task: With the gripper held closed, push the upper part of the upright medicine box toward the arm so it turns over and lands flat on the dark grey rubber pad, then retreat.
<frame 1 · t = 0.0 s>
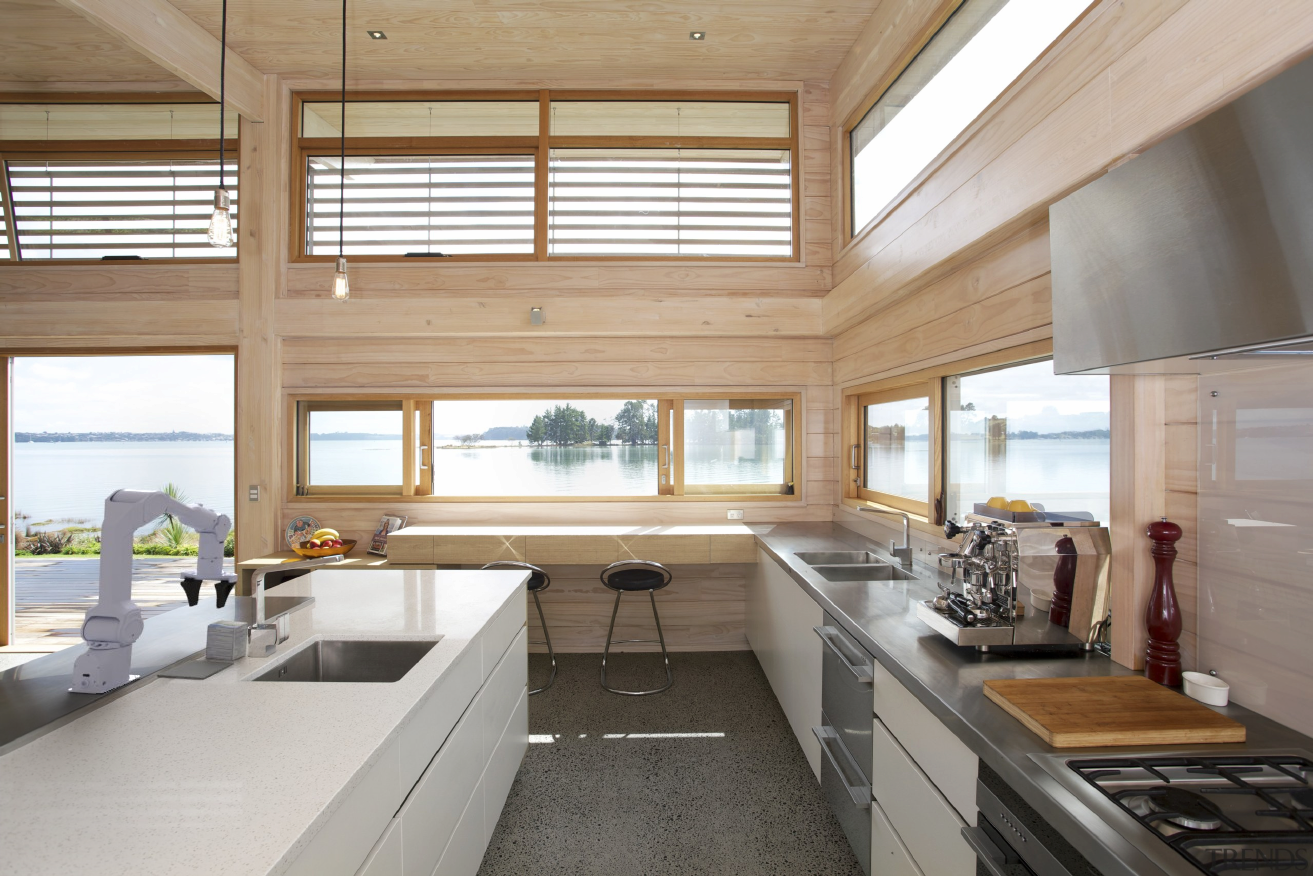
hand: (206, 606, 162), 10 cm above the worktop, fingers open, 7 cm apart
medicine box: (225, 657, 154), on the worktop
grey rubber pad: (197, 670, 144), on the worktop
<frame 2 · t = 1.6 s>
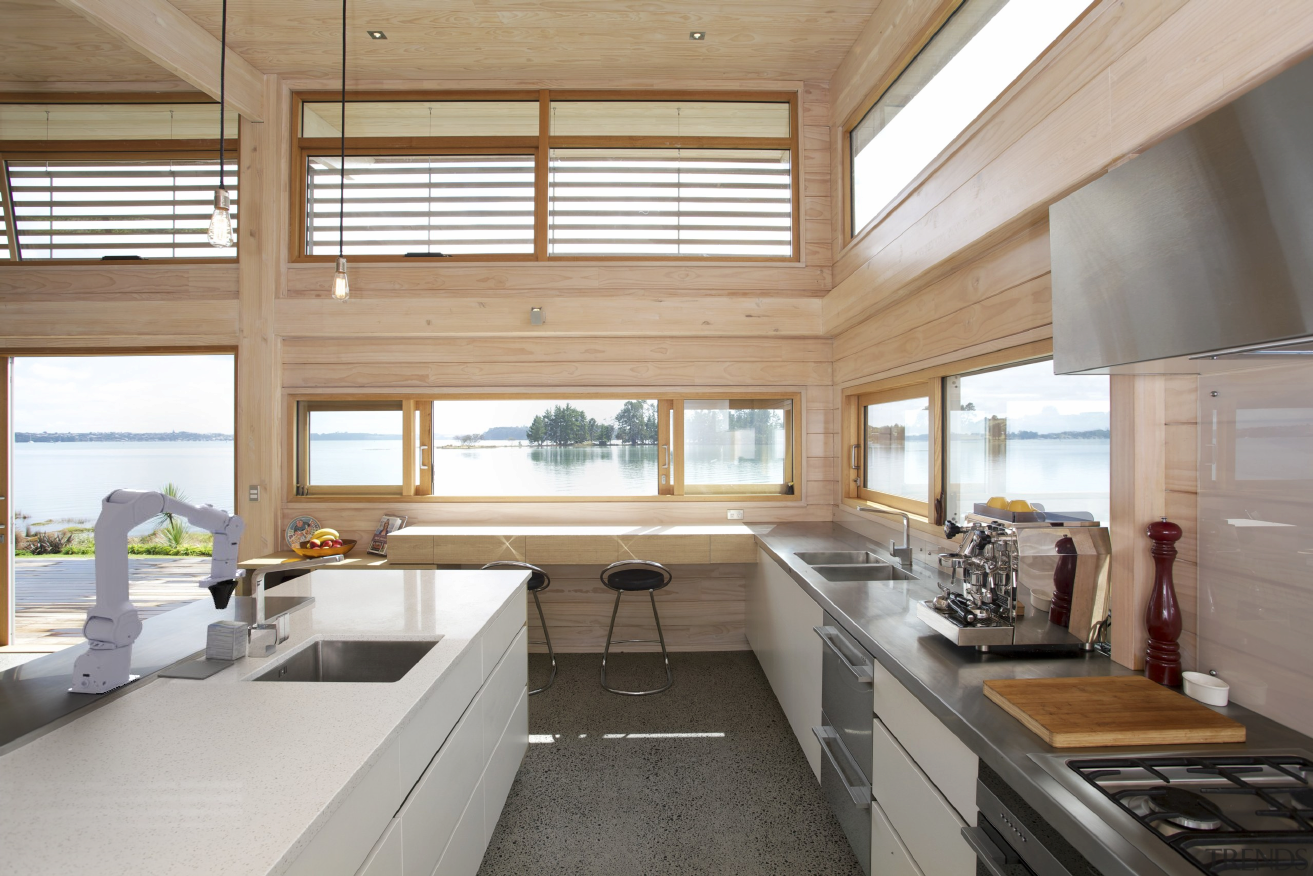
hand: (221, 608, 160), 10 cm above the worktop, fingers closed
nothing on the worktop moved.
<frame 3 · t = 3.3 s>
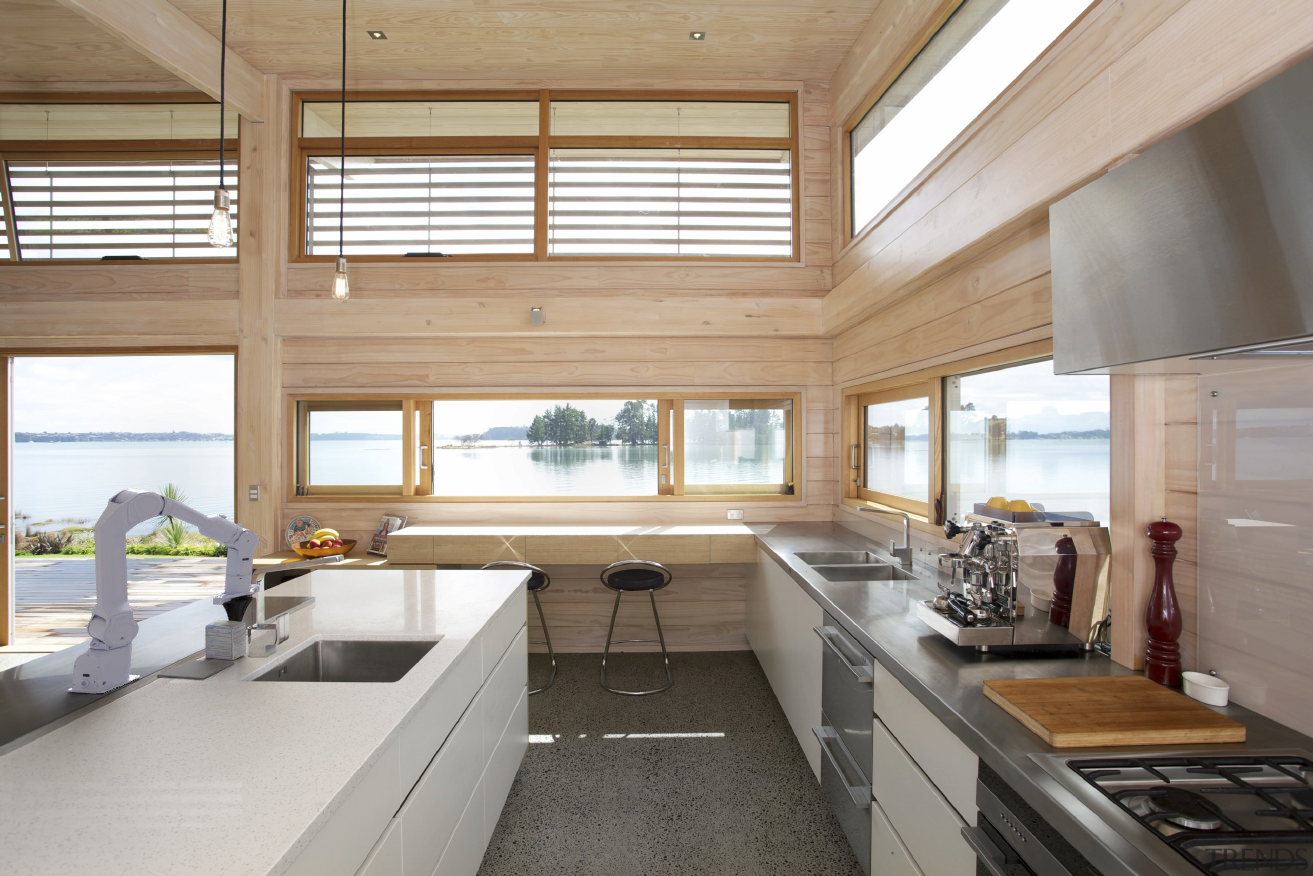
hand: (235, 625, 157), 7 cm above the worktop, fingers closed
medicine box: (225, 656, 154), on the worktop, touching gripper
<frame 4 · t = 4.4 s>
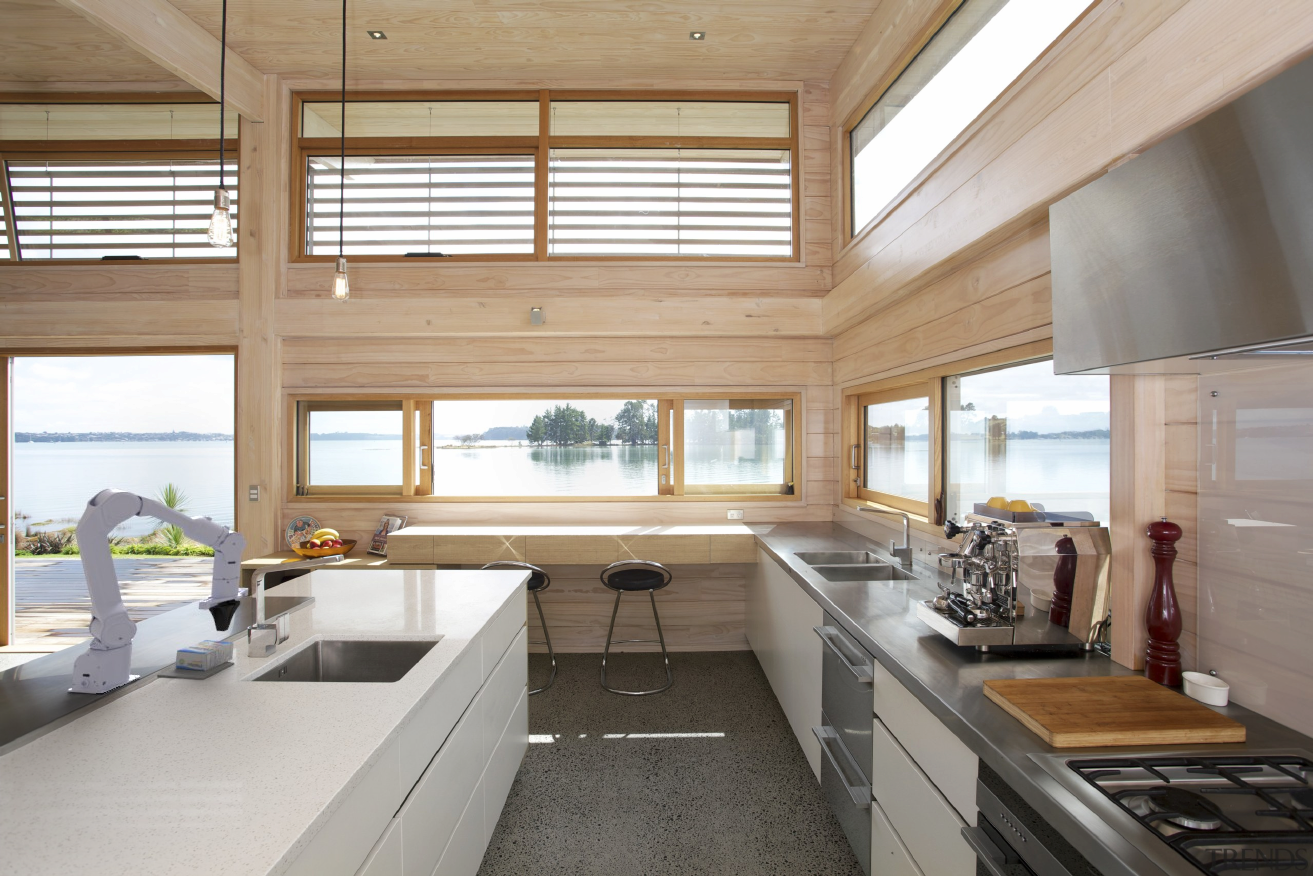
hand: (222, 630, 152), 7 cm above the worktop, fingers closed
medicine box: (220, 649, 152), point 3 cm above the worktop, touching grey rubber pad
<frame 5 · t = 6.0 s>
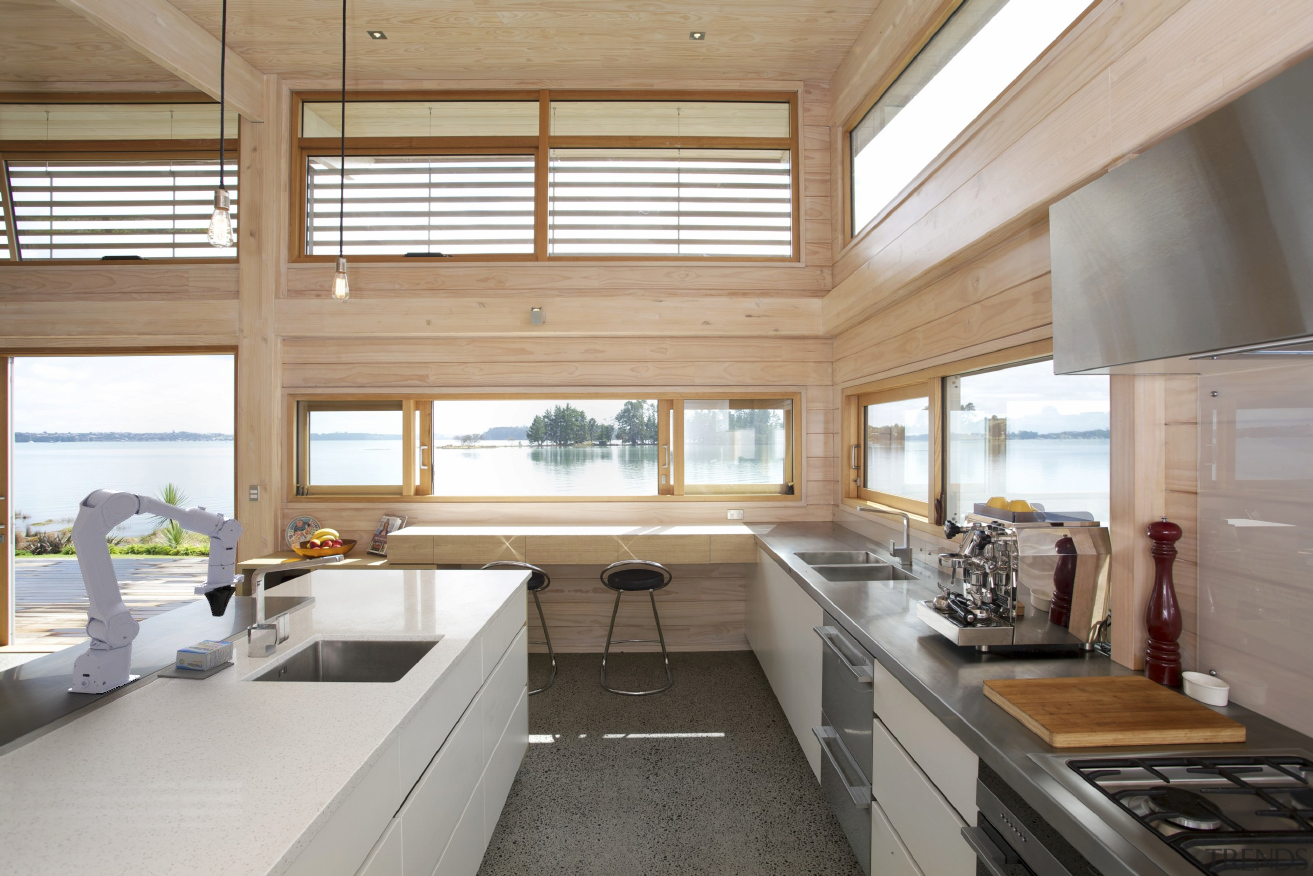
hand: (218, 615, 154), 10 cm above the worktop, fingers closed
nothing on the worktop moved.
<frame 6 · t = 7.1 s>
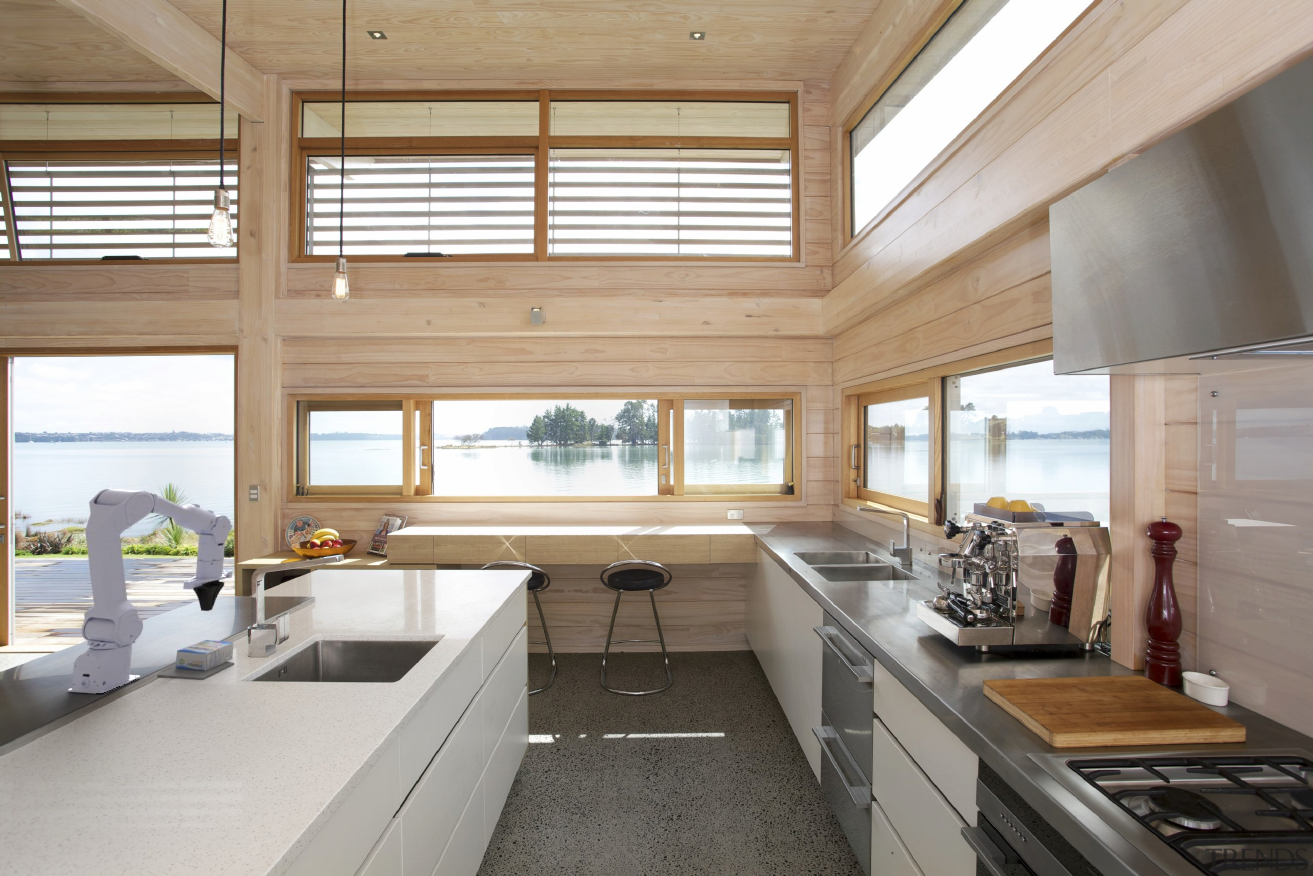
hand: (206, 610, 158), 10 cm above the worktop, fingers closed
nothing on the worktop moved.
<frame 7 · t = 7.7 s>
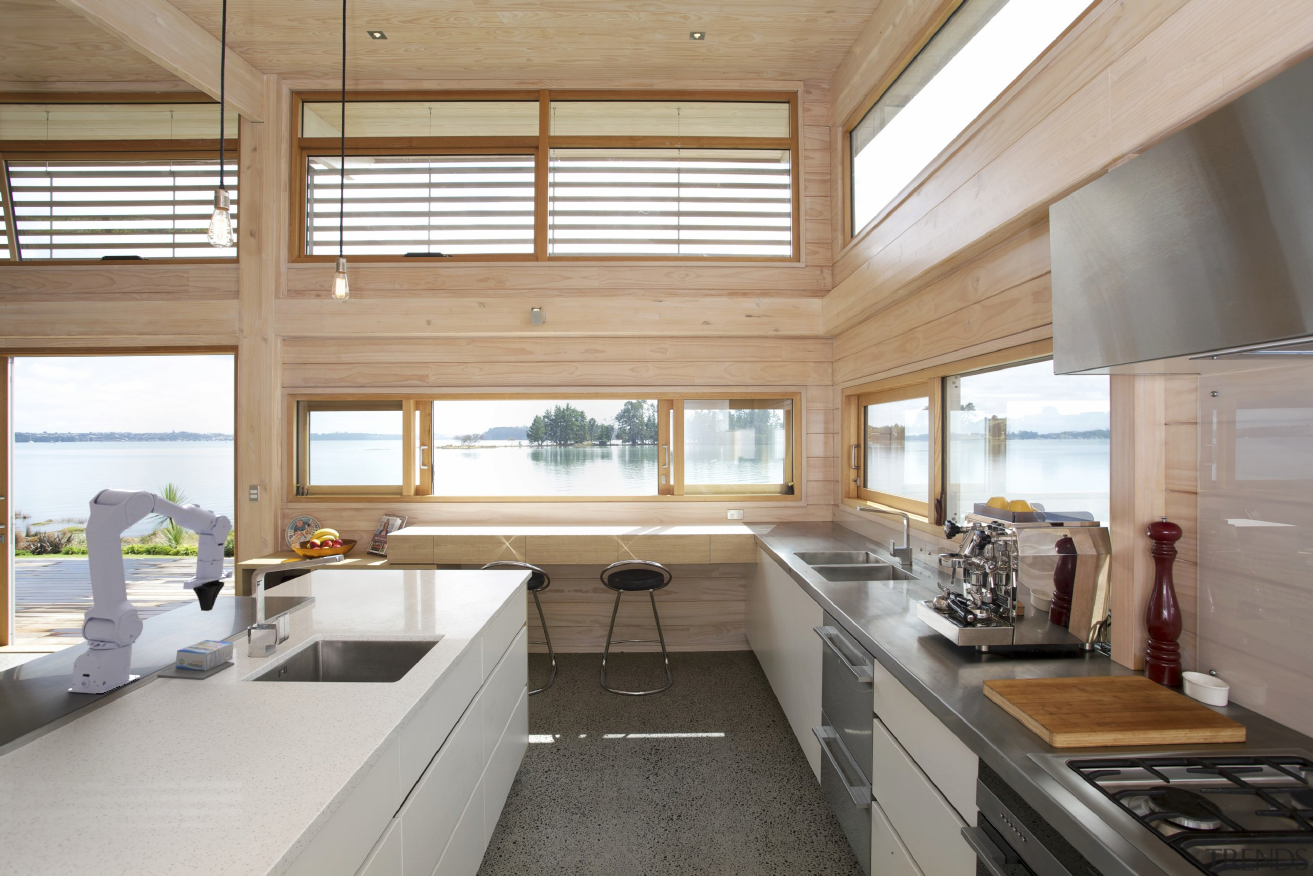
hand: (206, 610, 158), 10 cm above the worktop, fingers closed
nothing on the worktop moved.
at the end: medicine box tilted 89°; medicine box inside the target area (3.5 cm from its centre), point 2.5 cm above the worktop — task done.
